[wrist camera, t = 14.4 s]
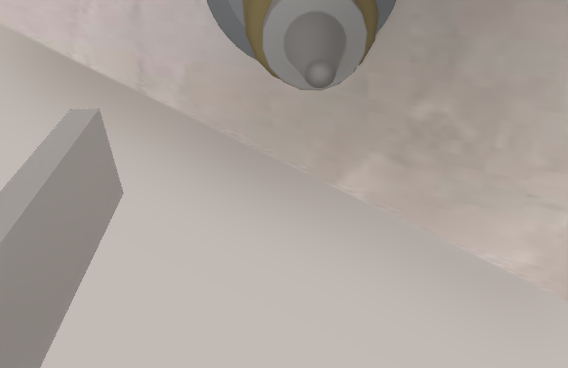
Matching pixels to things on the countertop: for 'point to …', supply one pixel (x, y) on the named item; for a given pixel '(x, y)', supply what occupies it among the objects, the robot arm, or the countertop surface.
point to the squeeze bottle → (310, 38)
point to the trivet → (231, 21)
